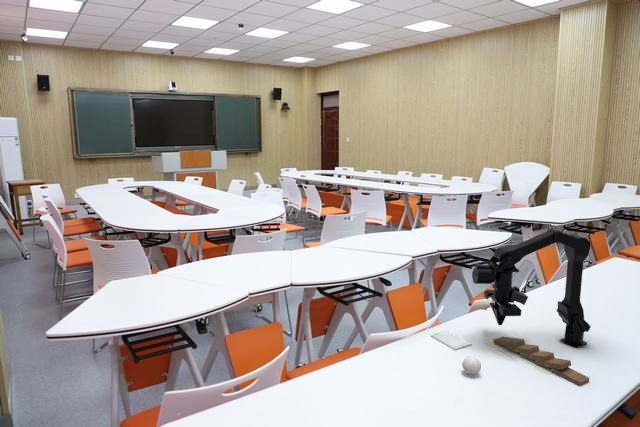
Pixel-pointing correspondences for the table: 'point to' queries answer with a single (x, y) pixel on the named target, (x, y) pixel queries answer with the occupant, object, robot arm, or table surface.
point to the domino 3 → (538, 355)
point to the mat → (519, 357)
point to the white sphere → (471, 365)
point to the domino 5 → (571, 376)
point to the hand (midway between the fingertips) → (499, 324)
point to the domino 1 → (509, 341)
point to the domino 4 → (554, 363)
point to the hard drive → (451, 340)
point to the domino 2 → (524, 348)
